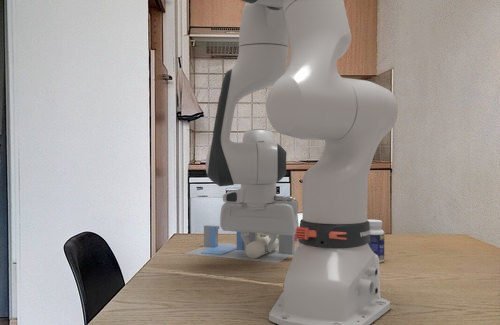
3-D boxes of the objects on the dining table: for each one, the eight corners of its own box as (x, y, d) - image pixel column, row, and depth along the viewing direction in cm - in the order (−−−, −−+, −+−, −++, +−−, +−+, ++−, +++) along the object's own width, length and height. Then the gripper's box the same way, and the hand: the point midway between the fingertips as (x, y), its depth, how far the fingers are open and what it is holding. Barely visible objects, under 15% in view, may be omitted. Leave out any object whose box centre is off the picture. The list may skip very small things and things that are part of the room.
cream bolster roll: (260, 259, 110) (260, 242, 110) (245, 258, 112) (245, 241, 112) (278, 250, 121) (278, 235, 121) (264, 249, 123) (264, 234, 123)
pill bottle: (385, 264, 109) (385, 222, 109) (360, 263, 110) (360, 221, 110) (383, 258, 114) (383, 219, 114) (359, 258, 116) (359, 218, 115)
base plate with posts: (277, 266, 107) (277, 237, 107) (183, 256, 118) (183, 230, 118) (302, 252, 123) (302, 227, 123) (217, 244, 134) (217, 222, 134)
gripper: (302, 195, 112) (302, 251, 113) (228, 193, 121) (228, 245, 121) (293, 197, 107) (293, 256, 107) (217, 195, 115) (217, 249, 115)
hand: (258, 250), depth 114 cm, fingers closed on cream bolster roll, 4 cm apart
